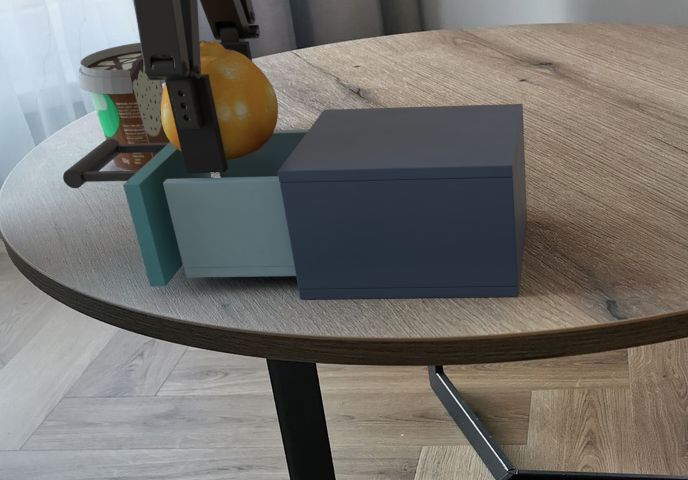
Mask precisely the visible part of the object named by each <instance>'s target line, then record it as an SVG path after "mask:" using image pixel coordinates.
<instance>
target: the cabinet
mask: <svg viewBox="0 0 688 480" xmlns="http://www.w3.org/2000/svg"><path fill="white" fill-rule="evenodd" d="M308 129H309V130H308V132H307V133H306V134H305V136H304V137H303V138H302V140H301V141H300V142H299V144H298V145H297V146H296V148H295V149H294V150H293V152H292V153H291V154H290V156H289V157H288V158H287V160H286V161H285V162H284V164H283V165H282V166H281V168H280V169H279V170H278V177H279V182H280V188H281V193H282V199H283V205H284V210H285V216H286V221H287V227H288V233H289V238H290V244H291V249H292V255H293V261H294V266H295V272H296V276H295V278H296V282H297V289H298V295H299V299H300V300H348V299H349V300H355V299H356V300H357V299H361V300H362V299H364V300H365V299H427V298H428V299H429V298H431V299H433V298H435V299H437V298H441V299H443V298H507V297H509V298H513V297H515V298H516V297H517V298H518V297H519V296H520V295H519V294H520V286H521V285H520V284H521V278H522V277H521V276H522V269H523V268H522V267H523V258H524V252H525V251H524V250H525V243H526V242H525V241H526V231H527V224H528V204H527V180H526V179H527V178H526V157H525V156H526V153H525V152H526V151H525V129H524V104H523V103H505V104H504V103H502V104H499V103H498V104H471V105H467V104H466V105H439V106H437V105H435V106H404V107H403V106H402V107H400V106H399V107H372V108H371V107H370V108H367V107H366V108H333V109H323V110H322V112H321V113H320V114H319V116H317V118H316V120H314V122H313V124H312V125H311V126H310V127H309V128H308Z"/></svg>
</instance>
